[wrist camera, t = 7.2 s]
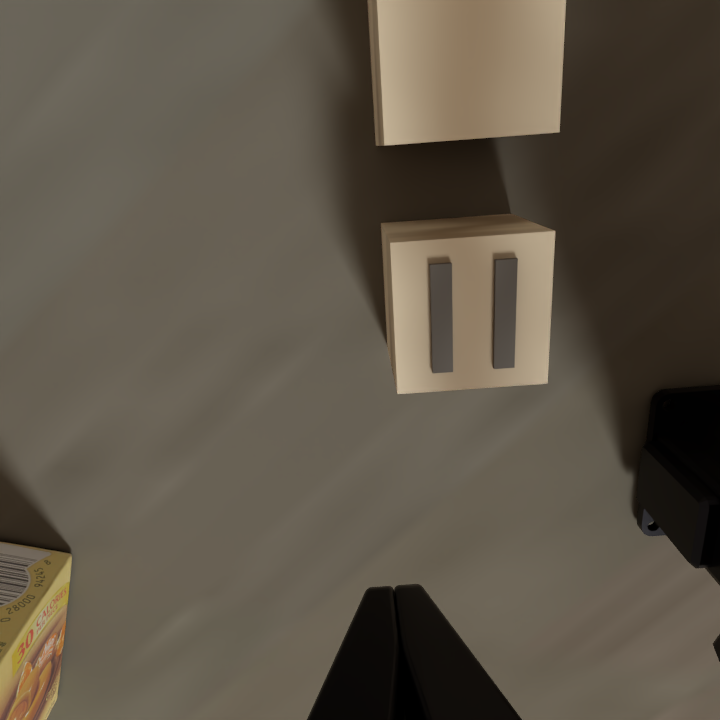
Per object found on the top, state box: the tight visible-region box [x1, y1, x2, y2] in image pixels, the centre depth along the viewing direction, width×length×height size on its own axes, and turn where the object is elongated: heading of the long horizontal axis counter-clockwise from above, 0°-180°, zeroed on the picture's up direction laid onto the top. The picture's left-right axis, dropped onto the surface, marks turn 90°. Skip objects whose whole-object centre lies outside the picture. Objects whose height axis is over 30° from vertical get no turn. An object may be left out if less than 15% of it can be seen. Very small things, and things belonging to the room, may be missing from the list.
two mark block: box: [381, 214, 555, 394], centre depth 18 cm, size 4×4×5 cm
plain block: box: [367, 0, 566, 146], centre depth 16 cm, size 4×4×4 cm
